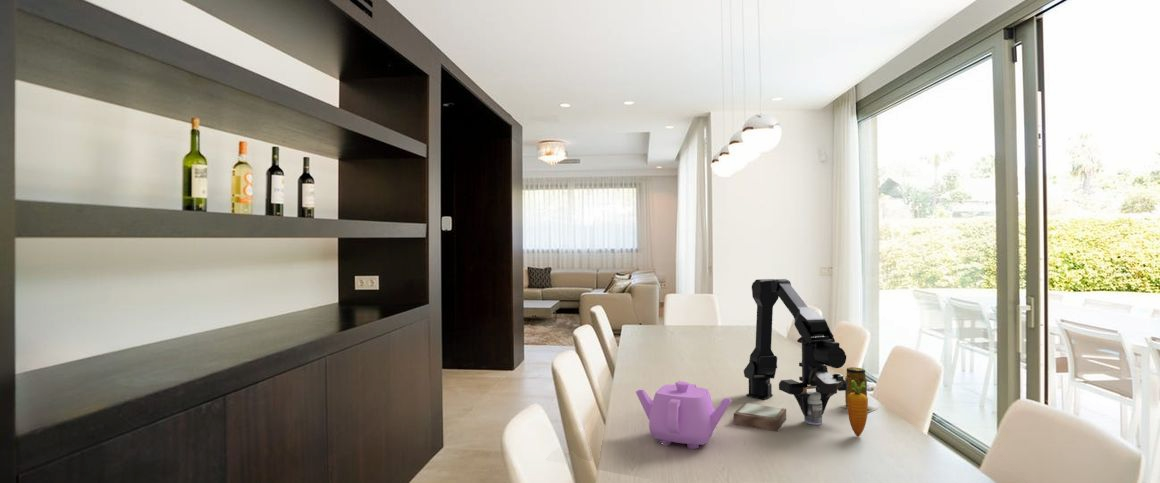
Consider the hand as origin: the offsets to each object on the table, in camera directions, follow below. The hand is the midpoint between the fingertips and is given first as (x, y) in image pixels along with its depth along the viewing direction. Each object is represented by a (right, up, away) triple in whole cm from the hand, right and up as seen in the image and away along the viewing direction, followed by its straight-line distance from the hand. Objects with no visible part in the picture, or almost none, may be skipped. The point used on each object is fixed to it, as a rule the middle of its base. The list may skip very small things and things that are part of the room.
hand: (813, 415), depth 153 cm
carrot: (+7, -2, -12) cm, 14 cm away
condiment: (+20, -2, +14) cm, 24 cm away
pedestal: (-15, -2, +1) cm, 15 cm away
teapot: (-40, -2, -13) cm, 42 cm away
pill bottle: (0, -2, 0) cm, 2 cm away
